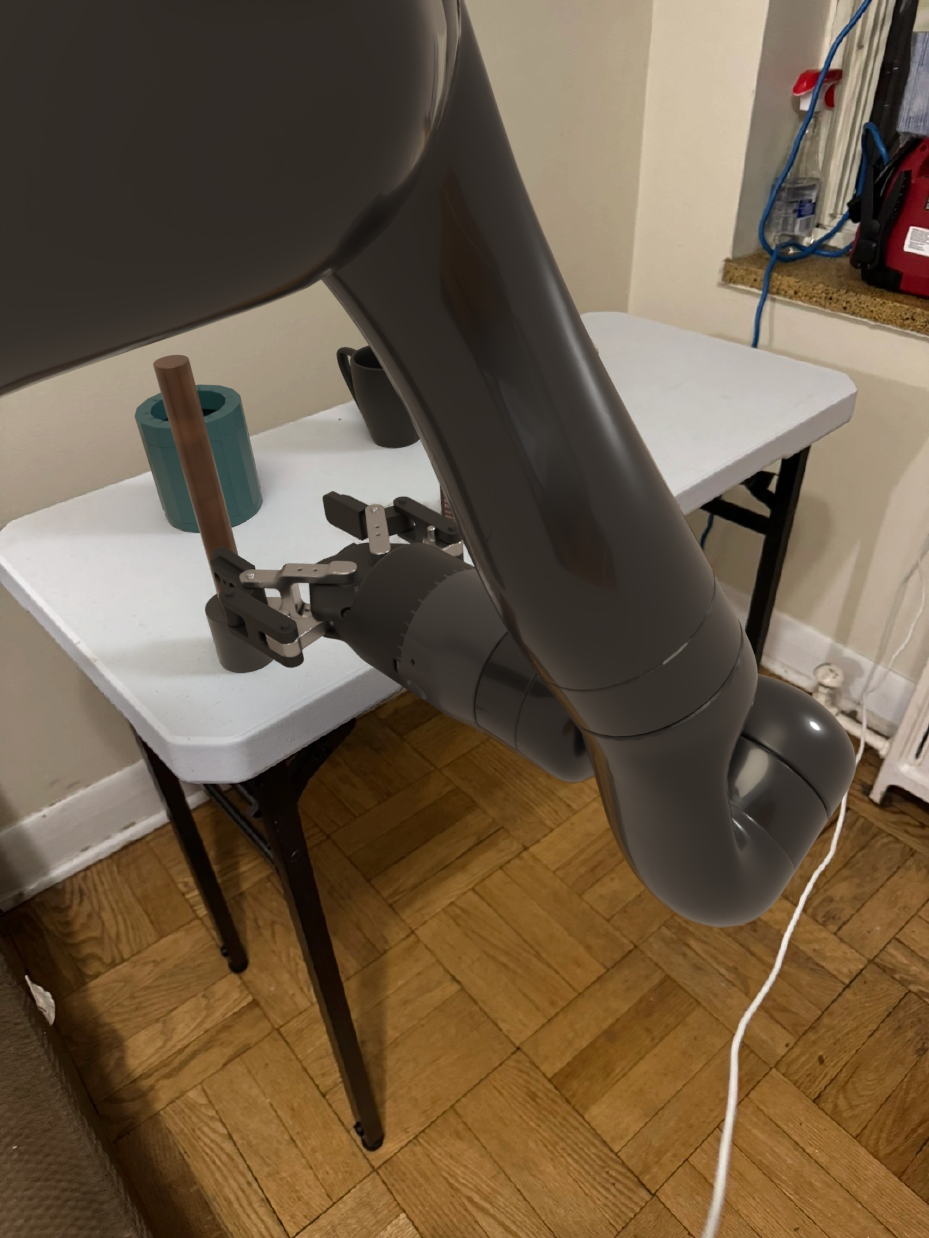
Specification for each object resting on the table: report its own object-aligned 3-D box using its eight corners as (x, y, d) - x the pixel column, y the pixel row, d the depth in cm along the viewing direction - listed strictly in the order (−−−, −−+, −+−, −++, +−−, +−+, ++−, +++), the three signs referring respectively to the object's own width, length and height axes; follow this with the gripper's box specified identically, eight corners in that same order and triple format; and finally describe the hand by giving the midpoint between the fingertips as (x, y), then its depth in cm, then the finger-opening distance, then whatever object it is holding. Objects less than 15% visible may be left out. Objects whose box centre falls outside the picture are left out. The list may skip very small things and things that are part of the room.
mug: (376, 406, 105) (367, 328, 99) (448, 433, 98) (442, 351, 92) (324, 430, 100) (311, 350, 94) (395, 460, 93) (385, 376, 88)
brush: (231, 680, 66) (145, 382, 52) (211, 649, 69) (123, 359, 55) (287, 657, 68) (218, 362, 53) (264, 628, 71) (194, 342, 57)
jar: (184, 543, 82) (153, 437, 76) (153, 503, 89) (122, 402, 82) (277, 511, 86) (255, 408, 79) (241, 474, 93) (218, 376, 86)
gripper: (543, 521, 47) (352, 438, 57) (343, 648, 40) (160, 528, 49) (542, 628, 52) (366, 535, 61) (363, 760, 44) (192, 631, 54)
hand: (275, 532), depth 55 cm, fingers open, 8 cm apart
